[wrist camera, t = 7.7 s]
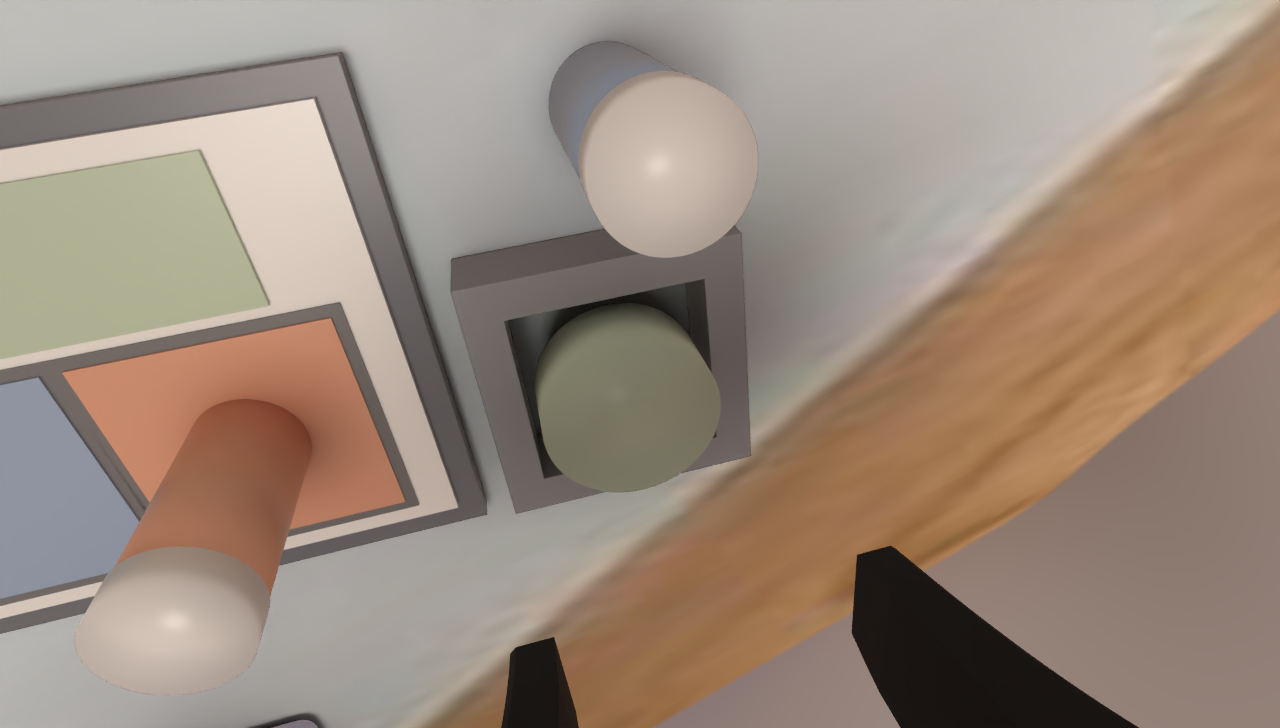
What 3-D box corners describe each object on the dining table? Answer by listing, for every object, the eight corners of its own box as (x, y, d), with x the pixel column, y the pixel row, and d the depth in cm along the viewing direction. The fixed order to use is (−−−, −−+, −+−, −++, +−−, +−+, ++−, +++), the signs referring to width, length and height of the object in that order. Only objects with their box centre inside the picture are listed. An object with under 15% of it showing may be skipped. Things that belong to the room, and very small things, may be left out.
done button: (702, 425, 20) (725, 469, 18) (551, 461, 19) (560, 510, 18) (690, 287, 17) (715, 322, 16) (518, 323, 17) (524, 364, 15)
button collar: (728, 417, 22) (751, 455, 20) (511, 469, 21) (515, 513, 19) (715, 207, 18) (741, 232, 17) (451, 259, 17) (450, 291, 16)
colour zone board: (486, 501, 22) (487, 522, 21) (-77, 638, 20) (-100, 667, 19) (342, 53, 15) (335, 58, 14) (-552, 192, 13) (-620, 207, 12)
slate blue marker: (672, 156, 17) (760, 239, 12) (558, 177, 17) (601, 272, 12) (660, 29, 16) (755, 65, 11) (535, 49, 16) (572, 97, 10)
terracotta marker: (332, 471, 19) (285, 666, 14) (222, 501, 18) (132, 712, 13) (284, 384, 17) (211, 568, 12) (163, 415, 17) (36, 618, 12)
